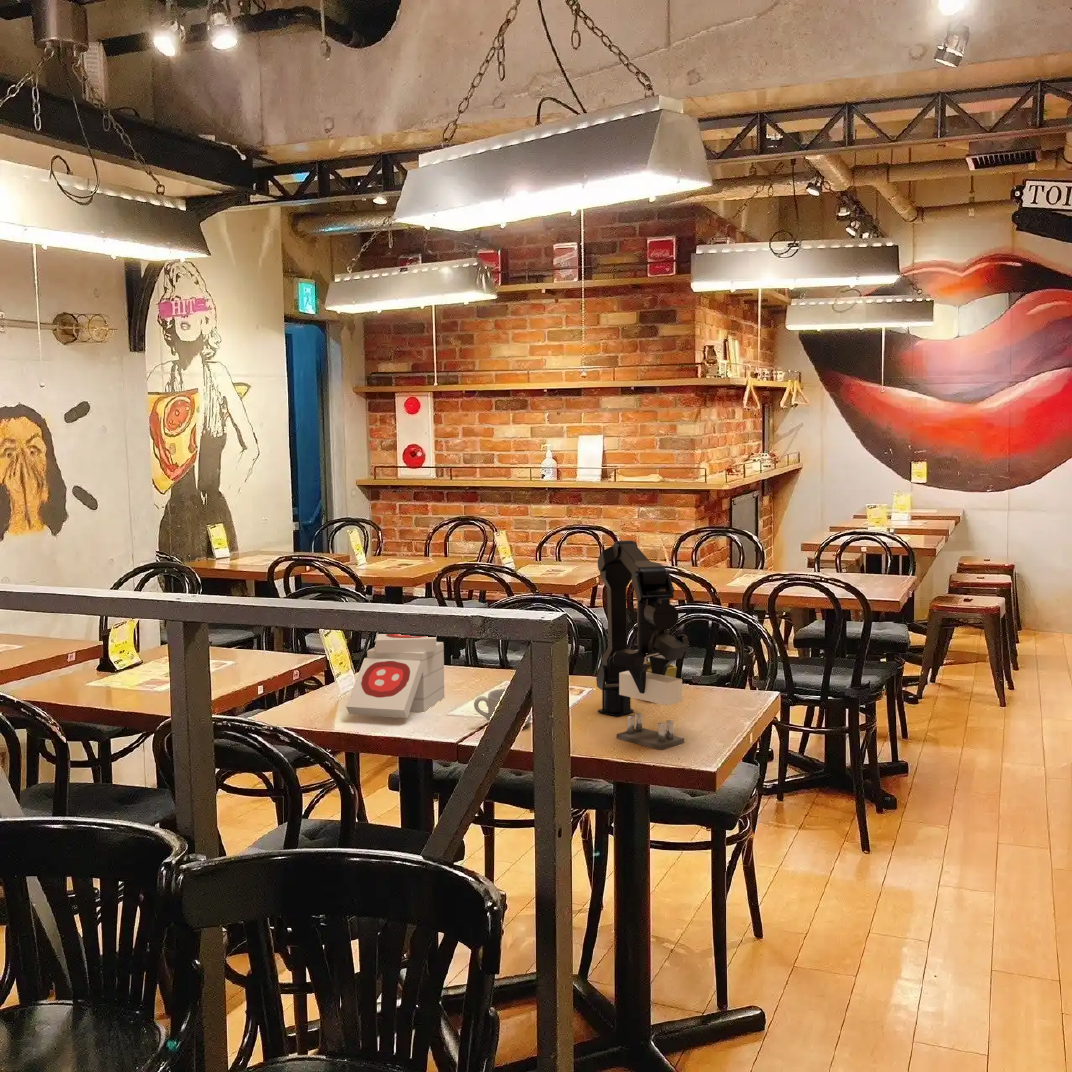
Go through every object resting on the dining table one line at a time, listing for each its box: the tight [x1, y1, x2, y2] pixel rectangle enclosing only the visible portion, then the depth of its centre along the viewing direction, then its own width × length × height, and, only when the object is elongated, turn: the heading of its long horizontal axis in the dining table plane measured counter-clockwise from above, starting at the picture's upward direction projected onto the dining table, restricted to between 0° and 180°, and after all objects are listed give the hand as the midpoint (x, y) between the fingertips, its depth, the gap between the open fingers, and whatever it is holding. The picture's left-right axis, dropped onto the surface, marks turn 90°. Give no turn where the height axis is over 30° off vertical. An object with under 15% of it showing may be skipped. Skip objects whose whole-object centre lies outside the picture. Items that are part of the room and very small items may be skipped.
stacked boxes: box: [345, 633, 445, 719], centre depth 281 cm, size 19×30×18 cm, turn 165°
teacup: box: [473, 687, 532, 725], centre depth 265 cm, size 14×11×8 cm
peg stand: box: [616, 712, 685, 751], centre depth 252 cm, size 13×8×5 cm, turn 44°
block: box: [619, 671, 683, 706], centre depth 251 cm, size 14×5×5 cm, turn 44°
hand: (649, 691), depth 251 cm, fingers closed on block, 5 cm apart
